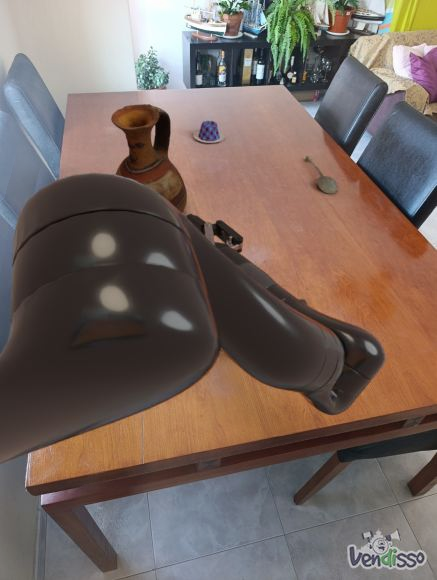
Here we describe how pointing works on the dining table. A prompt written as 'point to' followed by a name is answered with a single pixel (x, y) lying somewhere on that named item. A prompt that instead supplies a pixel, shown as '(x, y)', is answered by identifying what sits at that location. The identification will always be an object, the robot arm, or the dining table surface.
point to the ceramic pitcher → (150, 152)
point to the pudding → (209, 133)
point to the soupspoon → (325, 181)
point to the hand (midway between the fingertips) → (166, 229)
